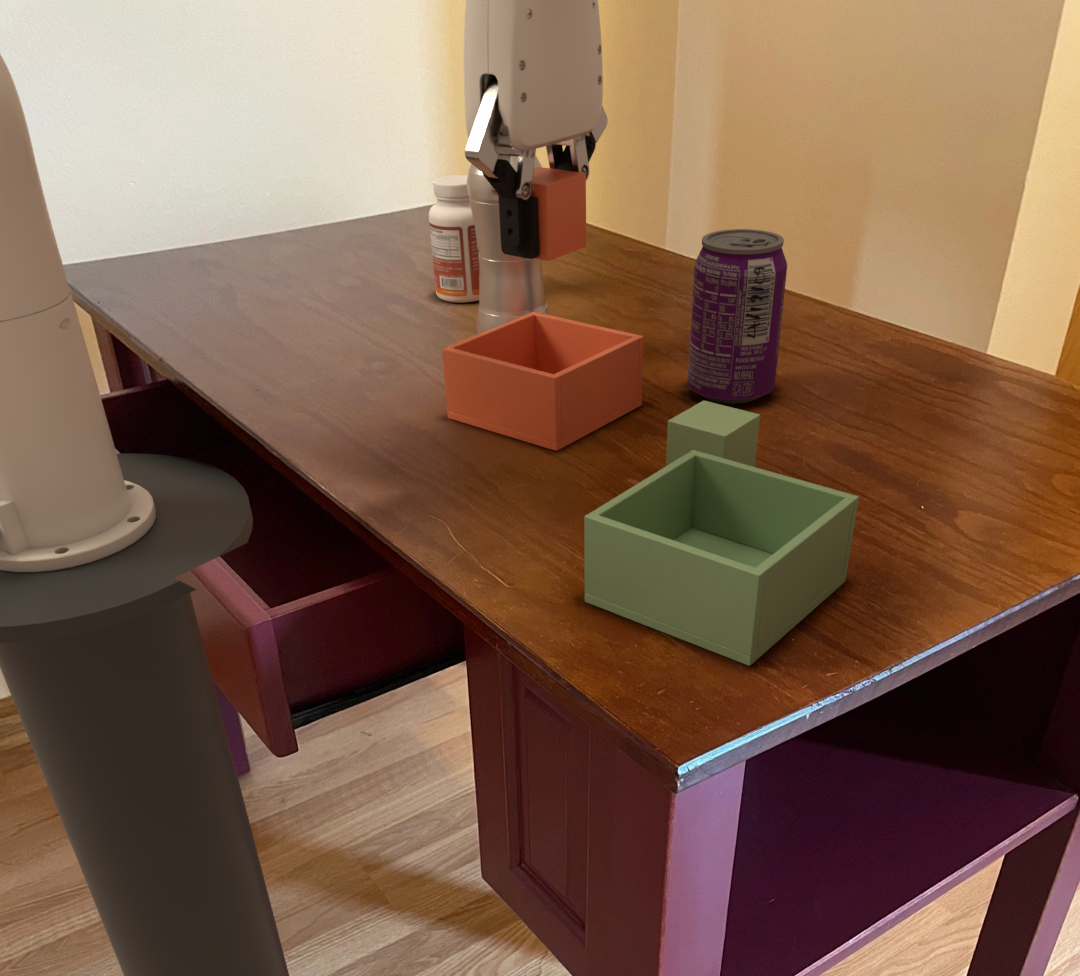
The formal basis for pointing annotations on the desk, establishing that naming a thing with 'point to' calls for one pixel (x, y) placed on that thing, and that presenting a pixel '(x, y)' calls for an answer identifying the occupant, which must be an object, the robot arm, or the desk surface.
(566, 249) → the coral block
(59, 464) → the robot arm
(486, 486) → the desk surface
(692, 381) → the beverage can
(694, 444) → the sage block
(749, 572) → the sage bin
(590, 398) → the coral bin
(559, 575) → the desk surface
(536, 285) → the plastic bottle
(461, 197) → the pill bottle
